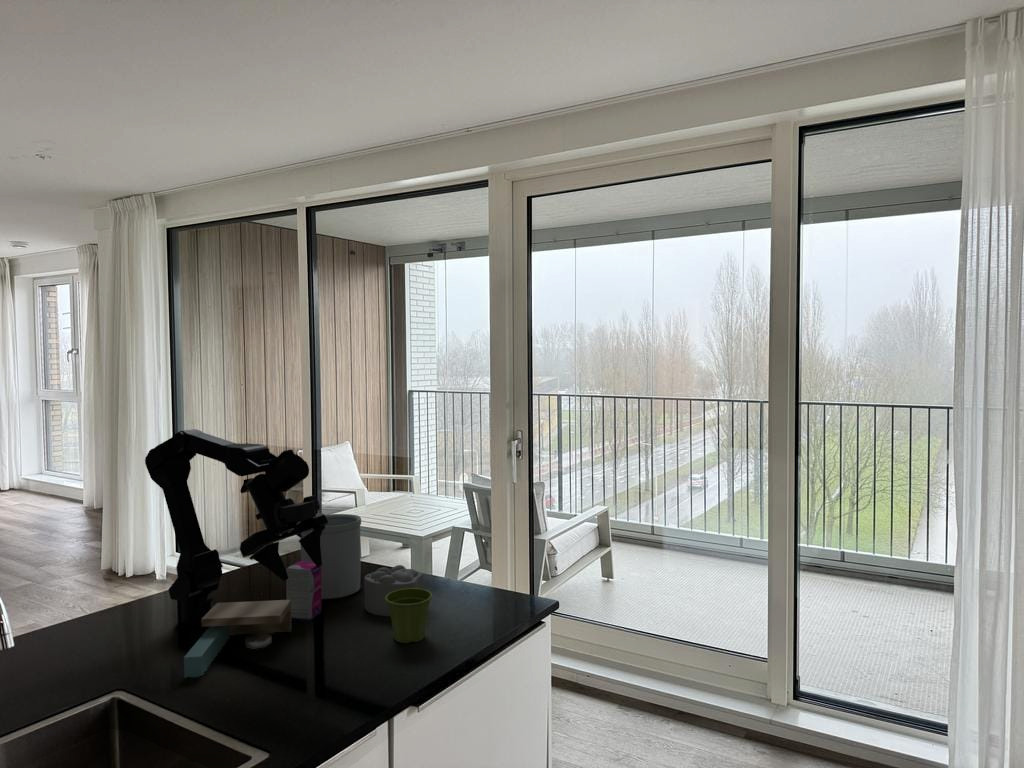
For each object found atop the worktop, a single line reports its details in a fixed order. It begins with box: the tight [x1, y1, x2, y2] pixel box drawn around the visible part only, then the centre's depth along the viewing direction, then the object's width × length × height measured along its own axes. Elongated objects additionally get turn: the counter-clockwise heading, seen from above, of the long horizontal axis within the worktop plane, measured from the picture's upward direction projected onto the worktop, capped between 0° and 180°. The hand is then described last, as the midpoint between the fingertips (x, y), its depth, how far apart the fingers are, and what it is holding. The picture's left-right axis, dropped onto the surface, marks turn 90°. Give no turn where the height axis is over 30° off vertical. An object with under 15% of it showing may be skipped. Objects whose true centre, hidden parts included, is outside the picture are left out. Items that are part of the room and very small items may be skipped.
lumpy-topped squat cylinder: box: [363, 564, 424, 617], centre depth 158 cm, size 10×13×9 cm
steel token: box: [244, 633, 273, 650], centre depth 139 cm, size 5×5×2 cm
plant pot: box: [385, 588, 433, 644], centre depth 141 cm, size 9×9×9 cm
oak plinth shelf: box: [201, 599, 293, 636], centre depth 140 cm, size 15×9×6 cm, turn 95°
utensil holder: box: [299, 513, 362, 600], centre depth 171 cm, size 15×15×18 cm
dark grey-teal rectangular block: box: [183, 625, 230, 679], centre depth 133 cm, size 3×17×4 cm, turn 7°
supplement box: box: [285, 560, 323, 622], centre depth 153 cm, size 6×6×12 cm
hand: (303, 572), depth 137 cm, fingers open, 9 cm apart
